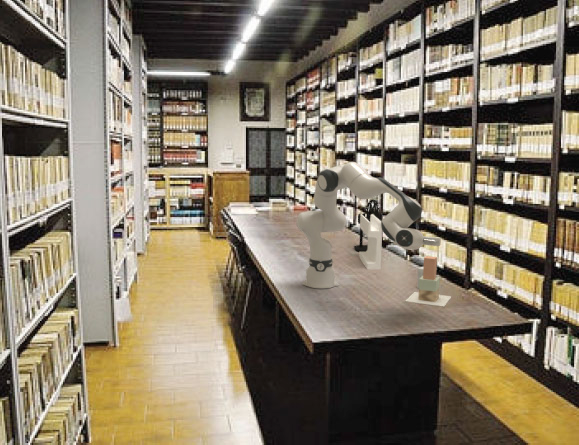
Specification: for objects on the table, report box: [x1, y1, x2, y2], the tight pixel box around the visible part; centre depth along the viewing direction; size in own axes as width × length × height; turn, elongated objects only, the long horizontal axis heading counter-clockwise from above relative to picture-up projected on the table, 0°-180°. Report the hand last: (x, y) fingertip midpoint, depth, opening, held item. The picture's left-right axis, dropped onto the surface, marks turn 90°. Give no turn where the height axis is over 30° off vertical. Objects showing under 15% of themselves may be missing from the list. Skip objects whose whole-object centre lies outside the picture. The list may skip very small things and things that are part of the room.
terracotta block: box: [423, 255, 438, 280], centre depth 262 cm, size 5×5×10 cm
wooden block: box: [418, 288, 440, 302], centre depth 264 cm, size 8×8×5 cm
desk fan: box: [353, 198, 383, 252], centre depth 381 cm, size 27×18×35 cm, turn 1°
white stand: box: [358, 213, 383, 270], centre depth 341 cm, size 35×8×28 cm, turn 0°
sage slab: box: [418, 276, 441, 292], centre depth 264 cm, size 8×8×5 cm
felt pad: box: [404, 291, 452, 308], centre depth 265 cm, size 18×18×1 cm
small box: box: [416, 266, 424, 289], centre depth 285 cm, size 8×6×10 cm
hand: (420, 240), depth 251 cm, fingers open, 8 cm apart
